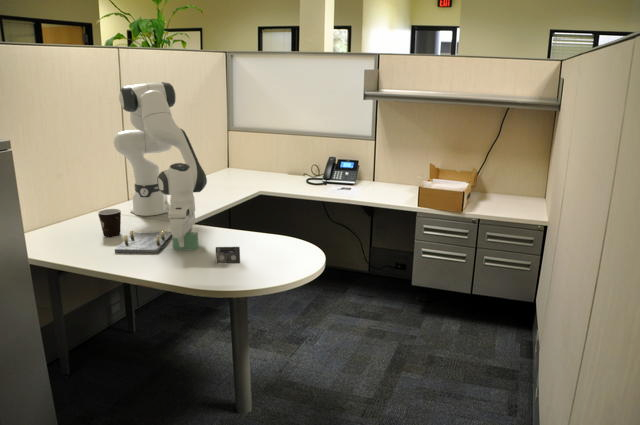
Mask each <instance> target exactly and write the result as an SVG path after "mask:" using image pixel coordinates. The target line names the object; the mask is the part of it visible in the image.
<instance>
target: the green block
mask: <svg viewBox="0 0 640 425" xmlns="http://www.w3.org/2000/svg"><path fill="white" fill-rule="evenodd" d="M171 240H172V250H173V251H174V250H177V251H178V250H180V251H182V250H191V251H193V250H194V251H195V250H196V251H197V250H199V247H200V246H199V233H198V232H193V231H192V232H187V233H186V235H185V236H184V241H185V246H184V247H180V246H179V242H178V239H177V238H173V236H172V238H171Z"/></svg>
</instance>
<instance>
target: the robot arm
mask: <svg viewBox="0 0 640 425" xmlns="http://www.w3.org/2000/svg"><path fill="white" fill-rule="evenodd" d="M176 99H177V94H176V91H175V89H174V86H173V85H172V84H171V83H169V82H164V81H162V82H145V83H138V84H137V83H136V84H132V85H130V84H128V85H125V86H122V87H121V88H120V90H119V94H118V101H119V103H120V104H119V105H120V106H121V107H122V109H123V110H124V111H125V112H129V118H130V119H129V120H130V123H131V125H132V126H133V127H134V129H126V130H122V131H119V132H117V133H116V134H115V136H114V139H113V145H114V148H115V150H116V151H117V152H118V153H119V154H121V155H123V156H124V157H125V158H126V159H127V160H128V162H129V163H130V164H131V167H132V169H133V175H134V182H135V183H134V191H135V193H133V194H132V208H130V213H133V214H135V215H137V216H146V217H147V216H148V217H149V216H157V215H162V214H167V216H168V218H170V220H169V222H170V231H171V232H170V233H172V236H173V238H177V239H178V242H179V246H180V247H184V246H185V241H184V236H185V235H186V233H187V232H193V226H194V225H195V223H196V213H195V212H196V202H195V201H196V200H195V198H196V197H195V195H194V193H200V192H202V191H203V190H204V188H205V187H206V185H207V183H208V178H207V175H206V173H205V171H204V169H203V167H202V165H201V164H200V162H199V160H198V157H197V155H196V152H195V151H194V148H193V146H192V143H191V141H190V139H189V137H188V135H187V133H186V132H185V130H184V129H182V128H181V127H179V126H178V125H177V124H176V122H175V121H174V118H173V116H172V110H171V108H172V107H174V106H175V104H176ZM172 147H175V148H176V149H178V150H179V152H180V154H181V156H182V158H183V161H184V163H183V162H176V163H172V164H170V165H169V168H168V169H165V170H162V171H161V172H160V167H159V165H158V164H157V163H156V162H154V161H152V160H150V159H148V158H145V156H144V155H145V154H157V153H164V152H168V151H170V150H171V149H172ZM168 196H170V197H169V198H170V199H169V200H168Z"/></svg>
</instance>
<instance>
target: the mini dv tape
mask: <svg viewBox="0 0 640 425" xmlns="http://www.w3.org/2000/svg"><path fill="white" fill-rule="evenodd" d="M240 254H241V250H240V246H216V247H215V260H216V261H215V264H216V265H223V264H225V265H226V264H229V265H230V264H231V265H232V264H235V265H237V264H240V263H241V255H240Z"/></svg>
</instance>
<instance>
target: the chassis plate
mask: <svg viewBox="0 0 640 425" xmlns="http://www.w3.org/2000/svg"><path fill="white" fill-rule="evenodd" d="M123 238H124V240H123V241H122V243H120V244H119V245H118V246H116V248H114V253H115V254H159V253H160V252H161V250H162V249H163V248H164V247H165V246H166V245H167V244H168V243H169V242H170V240H172V232H165V230H160V232H134V230H129V235H128V234H127V235H124V236H123Z"/></svg>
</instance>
